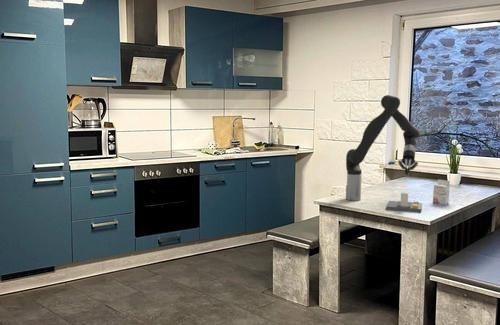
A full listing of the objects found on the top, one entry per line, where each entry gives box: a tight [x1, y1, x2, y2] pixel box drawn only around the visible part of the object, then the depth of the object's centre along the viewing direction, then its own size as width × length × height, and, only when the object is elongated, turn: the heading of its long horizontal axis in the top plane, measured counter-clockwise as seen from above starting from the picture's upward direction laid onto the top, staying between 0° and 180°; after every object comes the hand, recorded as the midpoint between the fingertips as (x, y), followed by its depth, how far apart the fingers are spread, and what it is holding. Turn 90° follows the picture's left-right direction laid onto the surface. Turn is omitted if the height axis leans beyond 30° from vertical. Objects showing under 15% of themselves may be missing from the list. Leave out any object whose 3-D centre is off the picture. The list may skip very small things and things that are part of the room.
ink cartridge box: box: [432, 179, 451, 205], centre depth 322 cm, size 9×5×15 cm, turn 44°
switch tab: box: [400, 191, 409, 207], centre depth 303 cm, size 4×4×8 cm
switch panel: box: [385, 200, 423, 213], centre depth 308 cm, size 20×18×4 cm
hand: (406, 174), depth 326 cm, fingers closed
